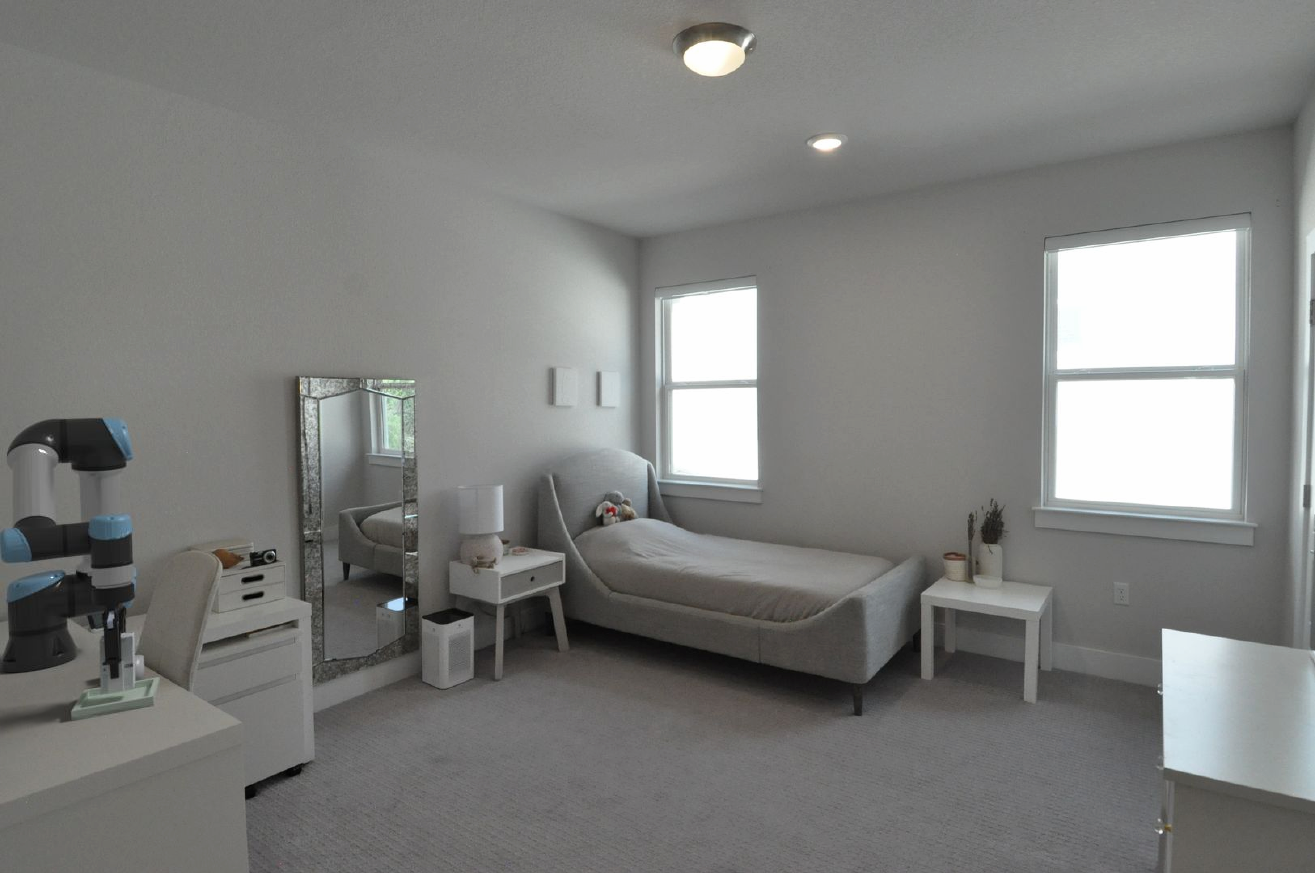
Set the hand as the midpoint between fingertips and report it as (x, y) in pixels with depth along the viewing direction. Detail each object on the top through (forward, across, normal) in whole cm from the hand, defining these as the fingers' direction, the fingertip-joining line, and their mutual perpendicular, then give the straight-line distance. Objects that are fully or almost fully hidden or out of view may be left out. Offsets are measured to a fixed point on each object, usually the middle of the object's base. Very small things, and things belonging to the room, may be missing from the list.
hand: (117, 688), depth 156 cm
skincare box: (0, 0, 0) cm, 1 cm away
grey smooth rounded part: (+3, -13, +1) cm, 13 cm away
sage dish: (+3, 0, 0) cm, 3 cm away
